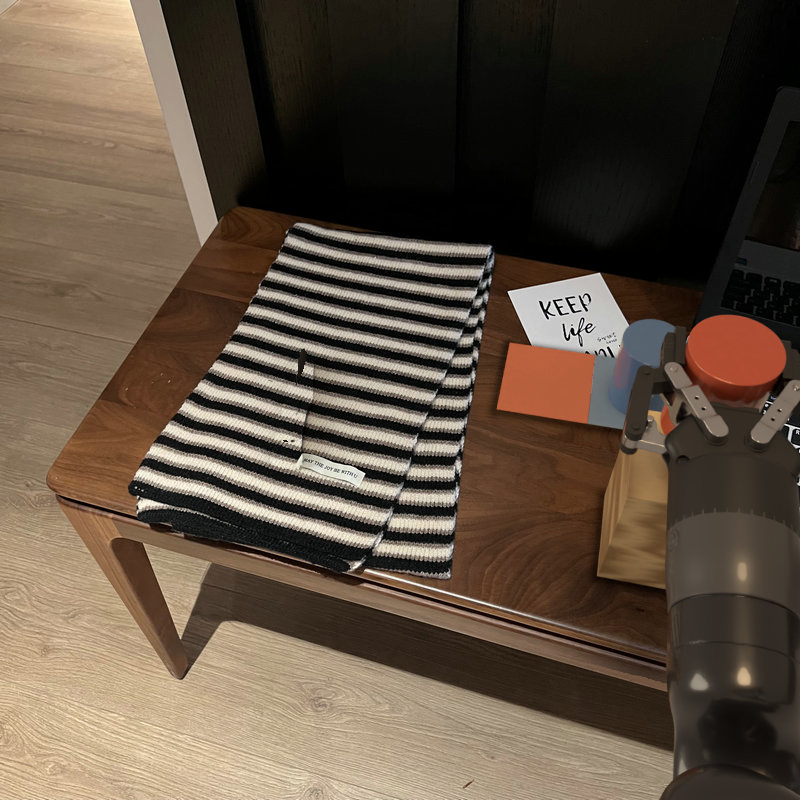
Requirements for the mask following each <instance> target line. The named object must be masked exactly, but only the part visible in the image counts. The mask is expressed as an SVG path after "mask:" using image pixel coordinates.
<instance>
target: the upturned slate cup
mask: <svg viewBox="0 0 800 800" xmlns="http://www.w3.org/2000/svg"><path fill="white" fill-rule="evenodd" d="M674 329H675V325H674V324H673V325H672V324H671V323H669V322H667V321H664V320H662V319H661V320H660V319H655V318H646V319H640V320H637V321H634V322H632V323H631V324H629V325H628V326H627V327H626V328H625V330H624V331H623V334H622V336H621V341H620V345H619V348H618V351H617V355H616V357H615V358H616V362H615V366H614V369H613V373H612V376H611V380H610V384H609V387H608V396H609V399H610V401H611V403H612V405H613V406H614V407H615V408H616V409H617V410H618V411H620V412H621V413H623V414H625V415H626V412H627V407H628V402H629V397H630V392H631V389H632V386H633V382H634V379H635V376H636V373H637V370H638V368H639V367H640V366H643V365H647V366H650V367H652V368H653V369H655V368H659V365H660V349H661V346H662V343H663V340H664V337H665V335H666V334H667V332H672V333H673V332H674ZM663 406H664V402H663V400H662V398H661V397H660V395H659V394H655V395H651V400H650V406H649V410H650V411H657V412H661V411H662V408H663Z"/></svg>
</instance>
